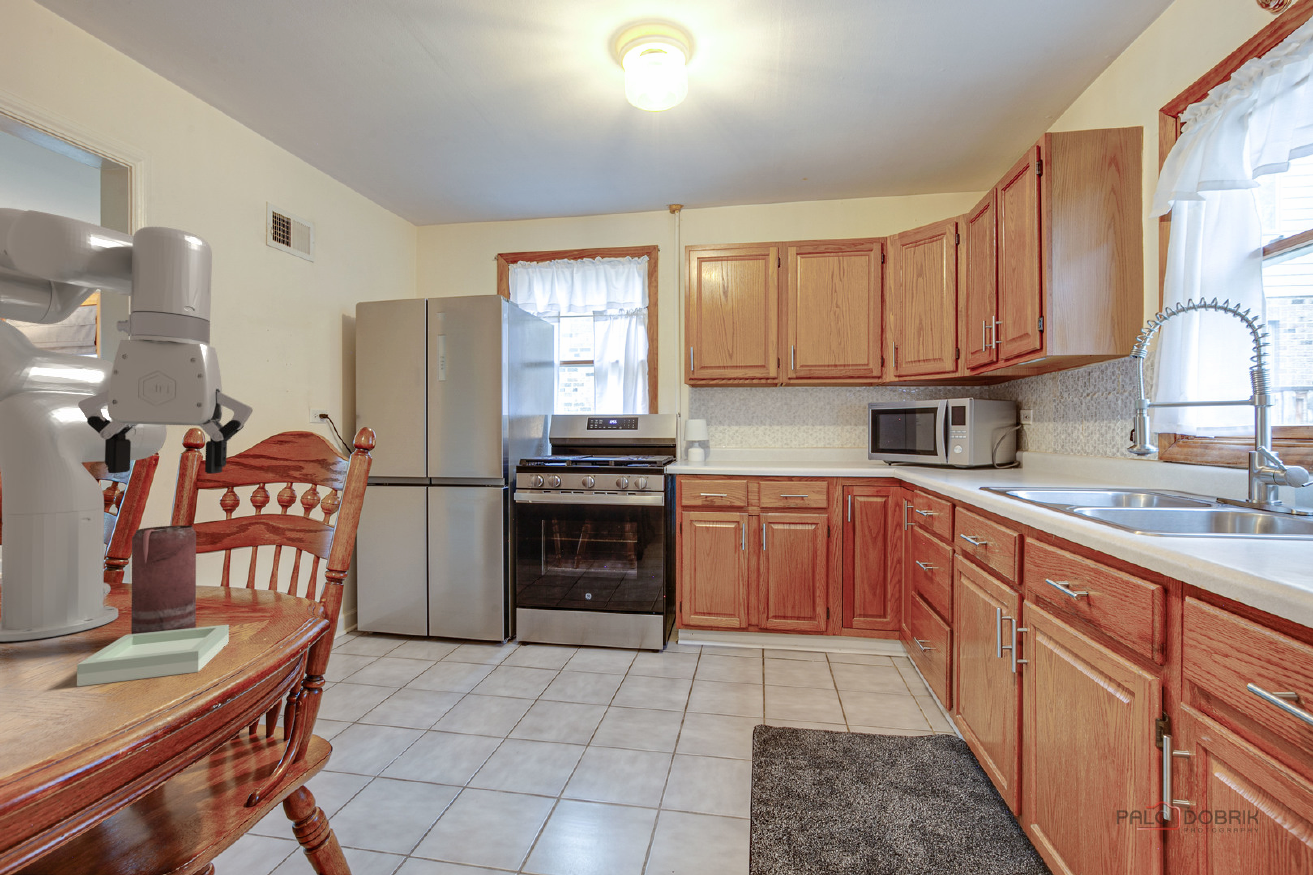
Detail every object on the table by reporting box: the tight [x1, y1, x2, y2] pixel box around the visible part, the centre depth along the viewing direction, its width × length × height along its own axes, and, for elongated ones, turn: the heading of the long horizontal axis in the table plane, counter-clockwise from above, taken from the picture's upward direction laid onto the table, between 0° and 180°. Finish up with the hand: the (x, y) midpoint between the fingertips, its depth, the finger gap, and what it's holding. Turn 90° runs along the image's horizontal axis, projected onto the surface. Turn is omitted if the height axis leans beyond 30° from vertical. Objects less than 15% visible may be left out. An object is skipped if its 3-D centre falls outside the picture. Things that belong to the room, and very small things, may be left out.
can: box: [130, 525, 197, 634], centre depth 73 cm, size 6×6×14 cm
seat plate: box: [76, 624, 230, 687], centre depth 65 cm, size 10×10×2 cm
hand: (167, 472), depth 71 cm, fingers open, 9 cm apart
